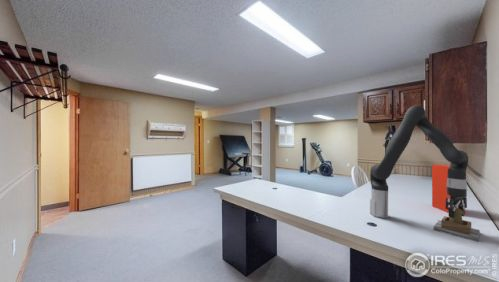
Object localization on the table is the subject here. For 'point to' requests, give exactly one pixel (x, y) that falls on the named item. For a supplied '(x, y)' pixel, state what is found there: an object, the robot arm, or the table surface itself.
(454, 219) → the cork
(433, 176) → the file binder
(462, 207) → the robot arm
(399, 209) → the table surface
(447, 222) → the socket block
